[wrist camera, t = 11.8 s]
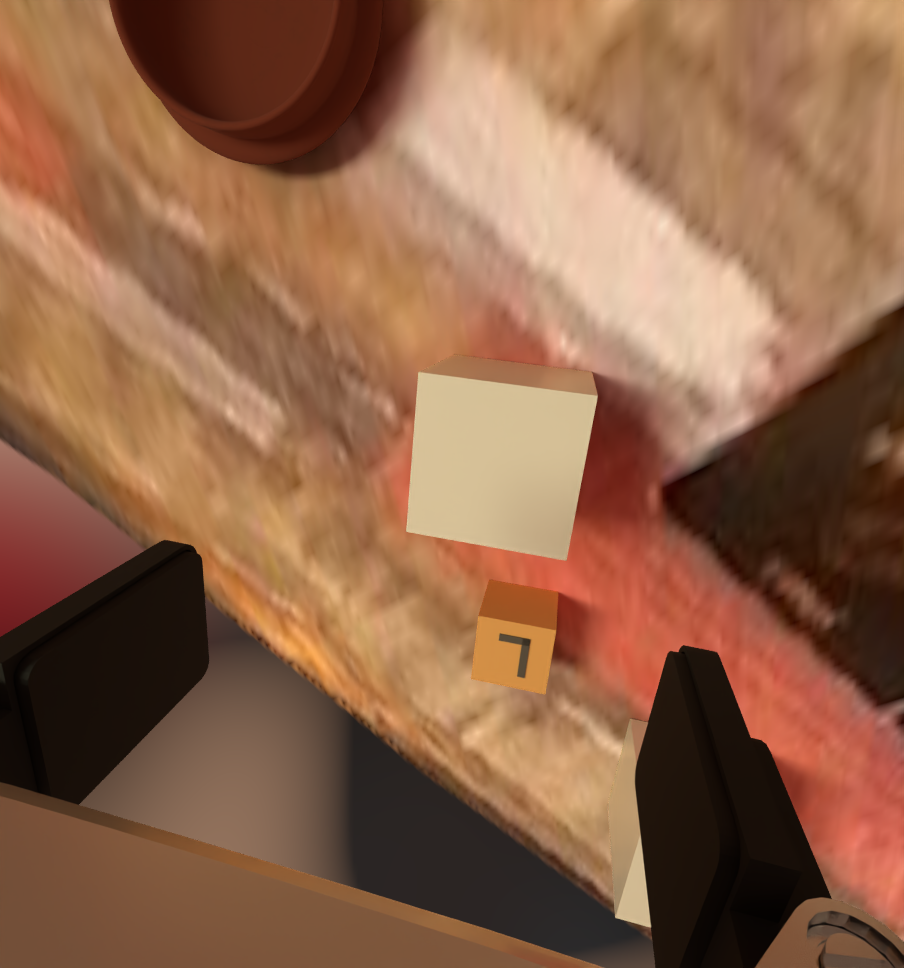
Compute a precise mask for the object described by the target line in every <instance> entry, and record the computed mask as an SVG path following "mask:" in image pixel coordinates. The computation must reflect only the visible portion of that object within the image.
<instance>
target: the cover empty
mask: <svg viewBox="0 0 904 968" xmlns="http://www.w3.org/2000/svg"><path fill="white" fill-rule="evenodd" d="M647 724H648V722H644V721H640V720H635V719H631V718H630V721H629V725H628V729H627V733H626V736H625V740H624V744H623V748H622V751H621V755H620V759H619V763H618V767H617V770H616V774H615V778H614V782H613V785H612V789H611V793H610V797H609V801H608V817H609V832H610V847H611V861H612V876H613V891H614V905H615V918H619V919H622V920H626V921H629V922H633V923H636V924H640V925H644V926H647V927H651V923H650V914H649V905H648V896H647V888H646V879H645V870H644V861H643V853H642V844H641V835H640V826H639V817H638V809H637V800H636V791H635V770H636V764H637V760H638V756H639V753H640V749H641V746H642V742H643V739H644V735H645V732H646V728H647Z"/></svg>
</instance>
